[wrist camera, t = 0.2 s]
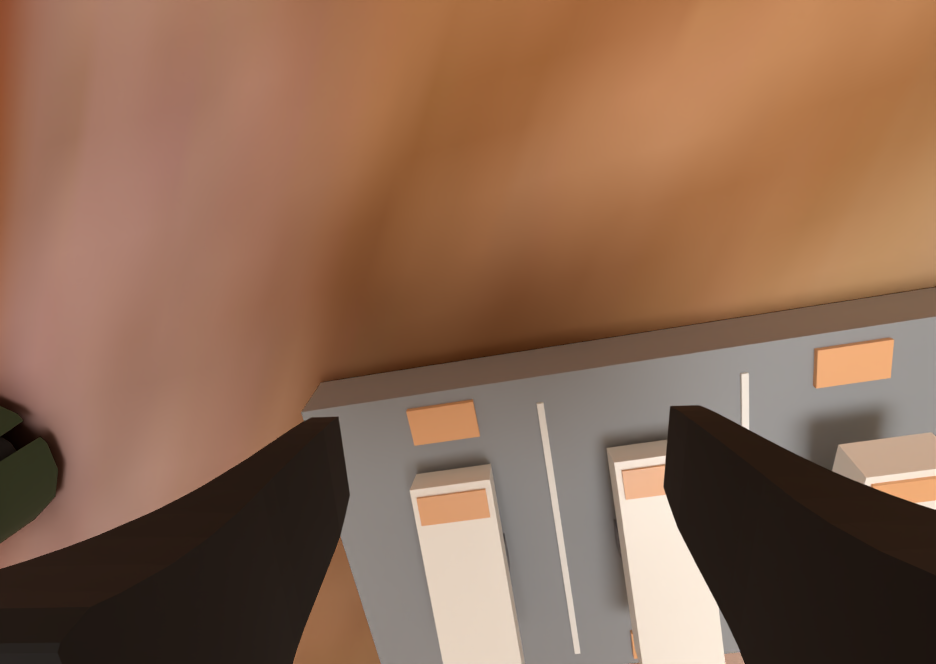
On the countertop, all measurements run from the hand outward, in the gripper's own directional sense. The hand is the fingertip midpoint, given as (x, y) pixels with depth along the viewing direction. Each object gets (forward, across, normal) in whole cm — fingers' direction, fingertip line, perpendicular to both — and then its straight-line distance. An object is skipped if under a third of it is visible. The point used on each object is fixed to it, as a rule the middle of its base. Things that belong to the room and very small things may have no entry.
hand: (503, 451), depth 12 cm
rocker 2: (+6, -6, +8) cm, 11 cm away
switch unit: (+9, -6, +8) cm, 14 cm away
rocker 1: (+6, +1, +9) cm, 11 cm away
